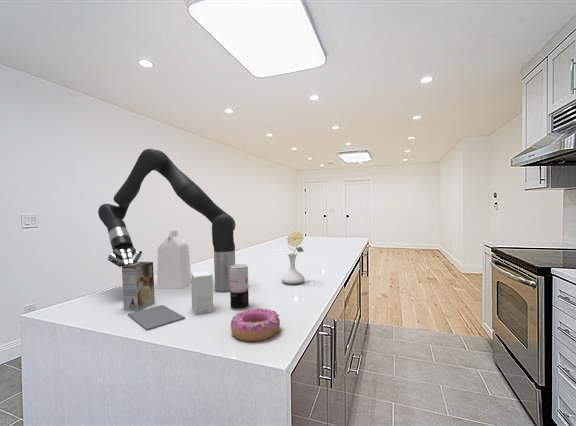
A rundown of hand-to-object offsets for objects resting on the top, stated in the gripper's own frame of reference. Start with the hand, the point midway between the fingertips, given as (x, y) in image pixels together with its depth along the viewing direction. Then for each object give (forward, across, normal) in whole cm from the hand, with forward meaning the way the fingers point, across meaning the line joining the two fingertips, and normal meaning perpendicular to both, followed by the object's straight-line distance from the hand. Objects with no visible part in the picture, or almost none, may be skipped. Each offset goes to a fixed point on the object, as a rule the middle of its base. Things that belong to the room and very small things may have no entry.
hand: (131, 272), depth 112 cm
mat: (+25, 0, -9) cm, 27 cm away
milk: (+1, +22, +15) cm, 27 cm away
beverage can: (+35, +25, -19) cm, 47 cm away
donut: (+50, +16, -33) cm, 62 cm away
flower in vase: (+30, +62, -14) cm, 70 cm away
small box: (+30, +14, -13) cm, 35 cm away
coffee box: (+14, 0, +2) cm, 15 cm away
